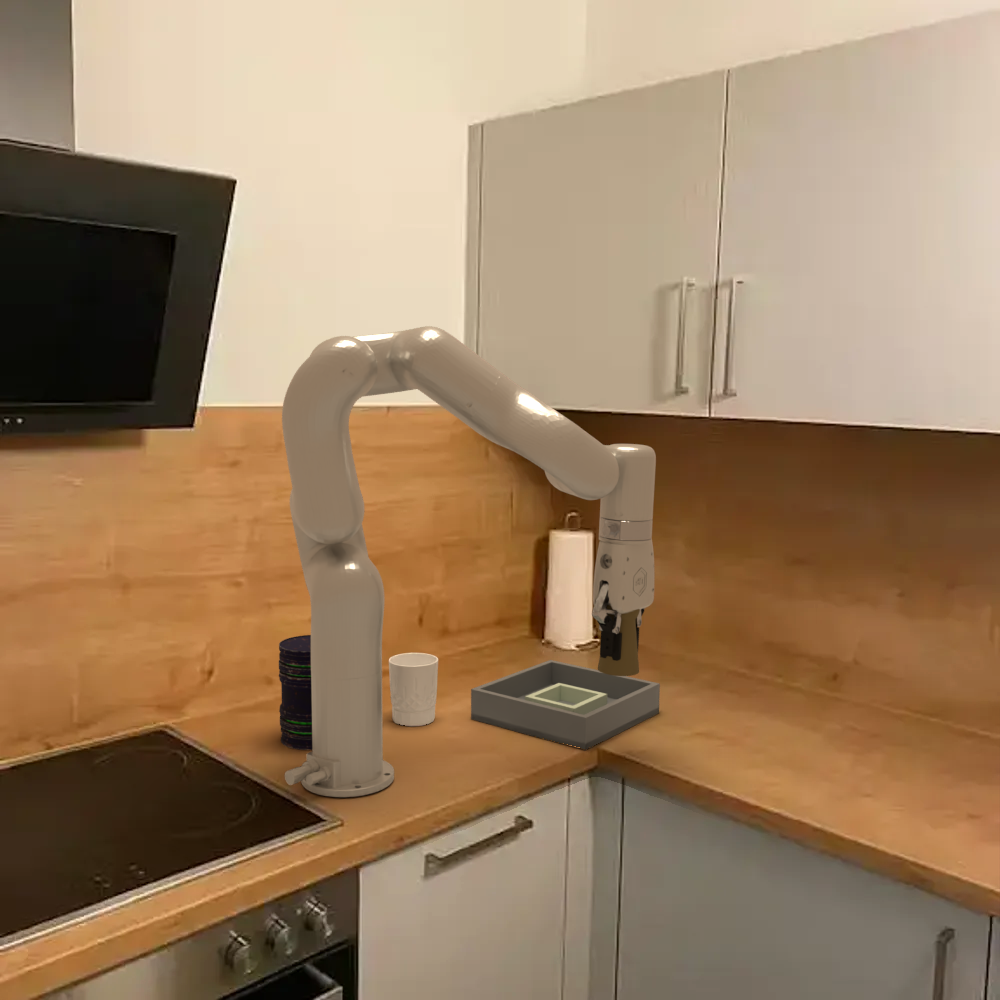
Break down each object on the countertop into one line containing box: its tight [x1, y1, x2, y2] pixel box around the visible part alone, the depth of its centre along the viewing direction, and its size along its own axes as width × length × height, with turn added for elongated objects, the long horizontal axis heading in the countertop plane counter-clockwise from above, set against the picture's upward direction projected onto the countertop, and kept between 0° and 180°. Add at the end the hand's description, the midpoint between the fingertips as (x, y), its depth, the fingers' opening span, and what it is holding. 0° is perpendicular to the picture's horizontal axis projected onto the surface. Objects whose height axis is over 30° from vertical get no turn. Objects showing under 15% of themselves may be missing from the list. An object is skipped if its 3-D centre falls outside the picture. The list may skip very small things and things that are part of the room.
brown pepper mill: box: [597, 605, 640, 677], centre depth 151 cm, size 6×6×11 cm
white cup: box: [388, 652, 439, 727], centre depth 167 cm, size 8×8×10 cm
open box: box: [470, 659, 661, 751], centre depth 170 cm, size 22×22×5 cm
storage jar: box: [278, 634, 312, 751], centre depth 158 cm, size 10×10×15 cm
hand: (619, 654), depth 151 cm, fingers closed on brown pepper mill, 4 cm apart
